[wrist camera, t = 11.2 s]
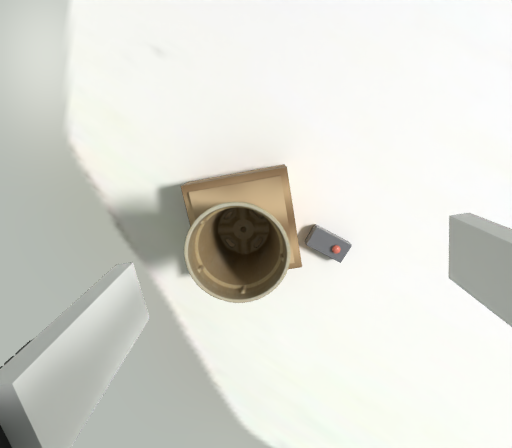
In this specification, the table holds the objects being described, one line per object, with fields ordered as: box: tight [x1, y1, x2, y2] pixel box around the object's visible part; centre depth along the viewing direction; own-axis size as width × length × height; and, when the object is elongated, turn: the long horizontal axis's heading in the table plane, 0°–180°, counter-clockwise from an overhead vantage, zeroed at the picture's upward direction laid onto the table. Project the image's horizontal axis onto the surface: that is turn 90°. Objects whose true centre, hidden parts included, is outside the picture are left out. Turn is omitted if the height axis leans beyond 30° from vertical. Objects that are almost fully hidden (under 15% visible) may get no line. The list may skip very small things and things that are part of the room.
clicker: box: [305, 224, 352, 263], centre depth 39 cm, size 5×3×2 cm, turn 62°
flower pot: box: [184, 202, 291, 303], centre depth 31 cm, size 9×9×9 cm
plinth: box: [181, 165, 302, 269], centre depth 37 cm, size 12×12×4 cm
